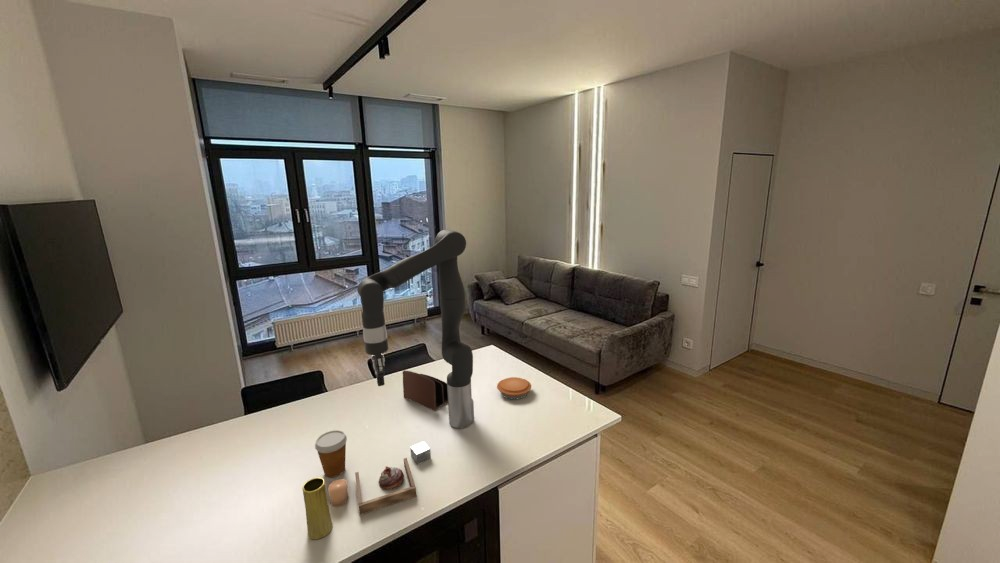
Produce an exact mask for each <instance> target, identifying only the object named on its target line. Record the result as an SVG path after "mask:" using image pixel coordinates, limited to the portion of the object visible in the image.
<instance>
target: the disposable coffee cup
mask: <svg viewBox="0 0 1000 563" xmlns="http://www.w3.org/2000/svg"><path fill="white" fill-rule="evenodd" d="M347 441H348V435H346V433H345V432H344V431H343V430H338V429H334V430H333V429H332V430H329V431H326V432H323V433H322V434H321V435H319V436H318V437H317V439H316V440H315V444H314V449H315V450H316V451H317V455H318V458H319V462H320V464H321V468H322V470H323V474H324V476H325V477H327V478H334V477H339V476H340V475H342V474H343V473H344V471H345V470H346V449H347V448H346V447H347V445H346V444H347Z"/></svg>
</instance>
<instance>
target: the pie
mask: <svg viewBox="0 0 1000 563" xmlns="http://www.w3.org/2000/svg"><path fill="white" fill-rule="evenodd" d="M496 389H497V390H498V392H500V394H501V395H502V396H503V397H504V396H505V397H504V398H506V397H507V398H506V399H508V398H512V399H511V400H518V399H517V398H520V399H522V398H521V397H523V398H525V397H526V396H527V394H528V393H529V392H530V390H531V389H532V384H531V382H530V381H528V380H527V379H525V378H521V377H514V376H513V377H507V378H504V379H501V380H500V381H499V382H498V383H497V386H496ZM525 395H526V396H525ZM524 396H525V397H524Z"/></svg>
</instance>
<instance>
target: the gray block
mask: <svg viewBox="0 0 1000 563" xmlns="http://www.w3.org/2000/svg"><path fill="white" fill-rule="evenodd" d="M409 448H410V458H411V459H412V460H413V461H414V463H416V465H419V464H422V463H425V462H426V461H429V460H430V459H432V455H431V453H432V452H431V448H430V447H429V446H428V444H427V443H426V442H425V441H421V442H419V443H416V444H414V445H412V446H410V447H409Z"/></svg>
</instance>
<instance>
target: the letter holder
mask: <svg viewBox="0 0 1000 563" xmlns="http://www.w3.org/2000/svg"><path fill="white" fill-rule="evenodd" d="M402 389H403V399H407V400H409V401H412V402H413V403H416V404H419V406H423V407H425V408H428V409H430V410H432V411H433V412H436V411H438V410H440V409H441V408H443V407H444V406H446V405H448V392H447V381H443V380H441V379H439V378H437V377H433V376H431V375H428V374H423V373H418V372H414V371H410V370H402Z"/></svg>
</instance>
